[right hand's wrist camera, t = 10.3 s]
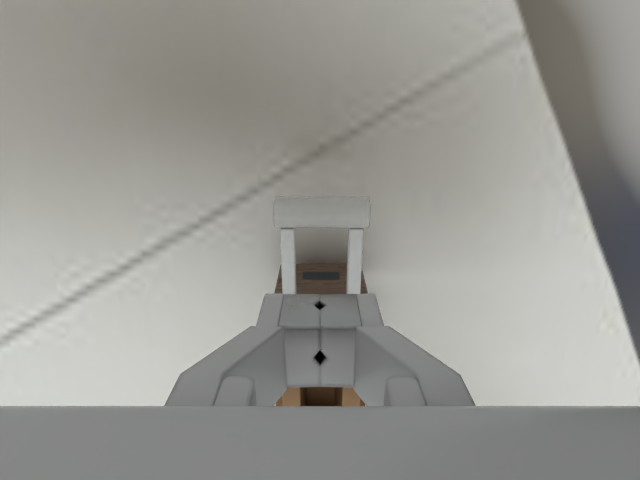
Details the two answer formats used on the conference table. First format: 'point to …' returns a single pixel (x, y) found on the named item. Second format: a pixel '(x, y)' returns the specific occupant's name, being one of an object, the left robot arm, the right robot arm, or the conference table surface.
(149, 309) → the conference table surface
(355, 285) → the drawer
